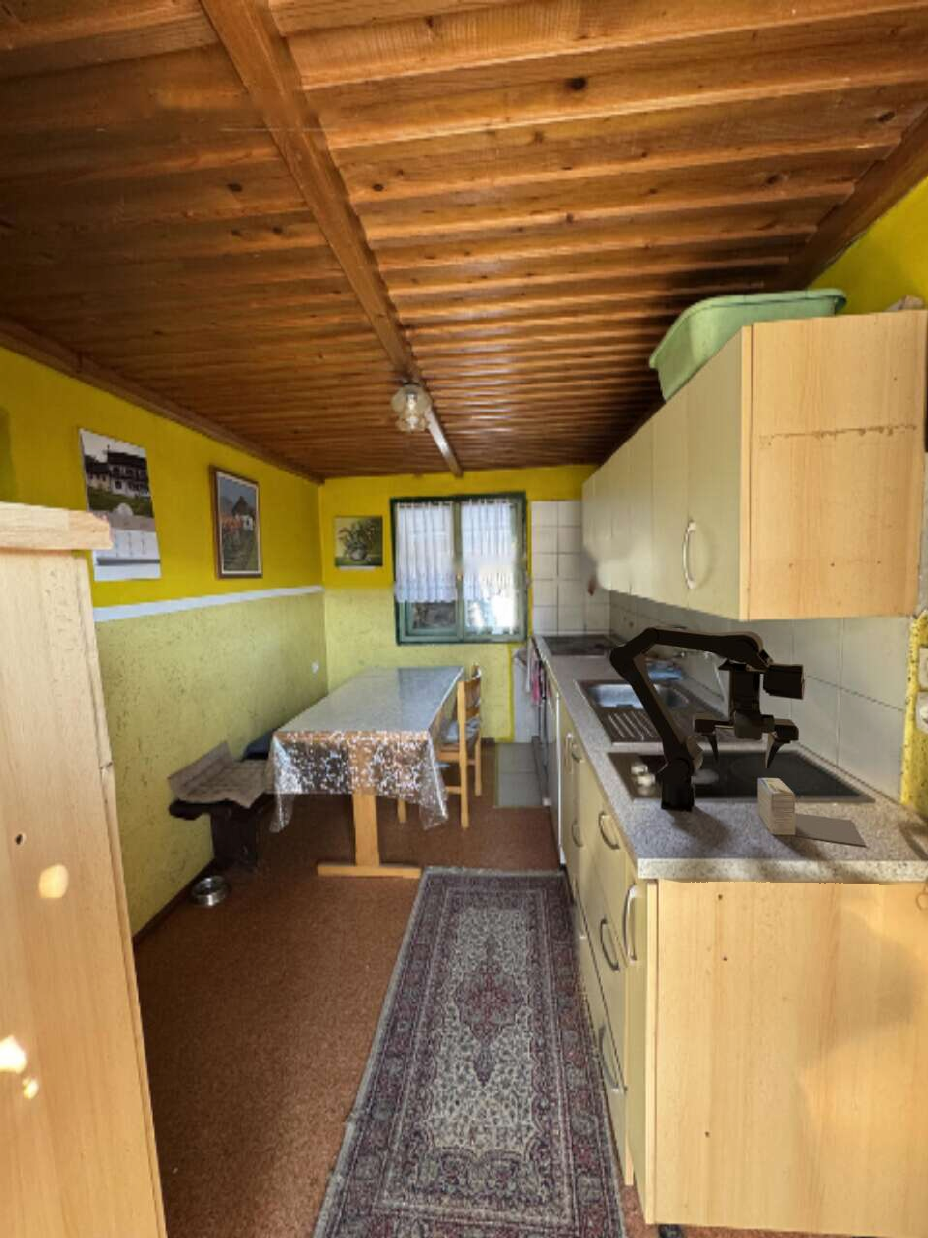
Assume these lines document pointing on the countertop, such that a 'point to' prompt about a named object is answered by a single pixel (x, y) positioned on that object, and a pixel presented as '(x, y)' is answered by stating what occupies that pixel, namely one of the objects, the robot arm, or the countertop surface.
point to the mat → (827, 829)
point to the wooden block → (776, 806)
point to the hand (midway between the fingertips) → (741, 765)
